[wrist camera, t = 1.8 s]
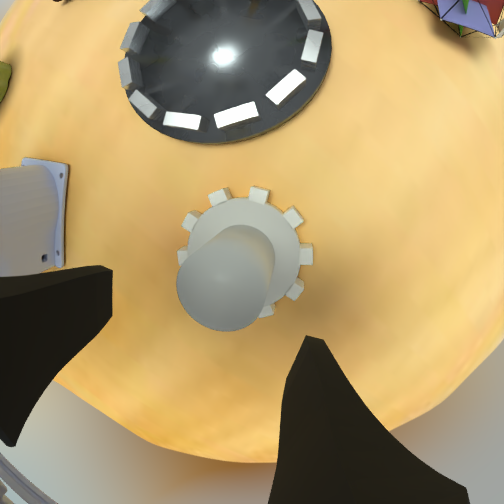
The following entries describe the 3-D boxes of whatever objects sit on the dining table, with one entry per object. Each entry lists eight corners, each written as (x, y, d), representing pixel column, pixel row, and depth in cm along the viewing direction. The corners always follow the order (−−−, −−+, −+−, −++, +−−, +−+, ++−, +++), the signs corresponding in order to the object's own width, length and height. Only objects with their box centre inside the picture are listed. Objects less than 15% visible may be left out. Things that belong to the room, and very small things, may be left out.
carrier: (302, 168, 15) (302, 167, 13) (110, 131, 17) (89, 128, 14) (344, -6, 11) (348, -24, 9) (165, -17, 12) (152, -31, 10)
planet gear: (288, 323, 18) (281, 385, 13) (177, 289, 19) (133, 333, 13) (328, 207, 16) (345, 227, 10) (198, 172, 17) (149, 174, 11)
